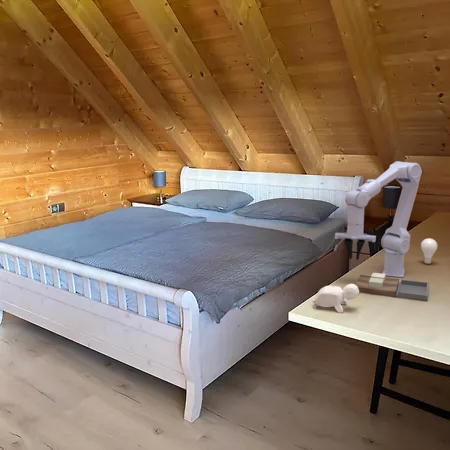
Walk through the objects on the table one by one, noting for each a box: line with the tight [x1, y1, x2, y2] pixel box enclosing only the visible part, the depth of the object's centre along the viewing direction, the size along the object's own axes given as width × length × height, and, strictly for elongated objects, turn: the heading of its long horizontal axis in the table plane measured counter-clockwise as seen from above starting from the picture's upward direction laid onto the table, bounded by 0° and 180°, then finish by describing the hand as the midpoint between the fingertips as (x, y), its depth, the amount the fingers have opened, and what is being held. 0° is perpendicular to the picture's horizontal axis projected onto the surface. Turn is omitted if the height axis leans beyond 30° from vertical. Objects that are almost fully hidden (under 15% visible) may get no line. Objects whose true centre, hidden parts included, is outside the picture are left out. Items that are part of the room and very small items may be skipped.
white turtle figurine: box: [312, 283, 360, 314], centre depth 157 cm, size 9×8×15 cm
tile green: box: [369, 278, 384, 288], centre depth 171 cm, size 4×4×2 cm
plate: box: [355, 274, 400, 298], centre depth 174 cm, size 14×14×2 cm
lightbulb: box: [420, 237, 438, 265], centre depth 199 cm, size 6×6×11 cm
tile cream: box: [370, 272, 386, 281], centre depth 176 cm, size 4×4×2 cm
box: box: [395, 279, 430, 302], centre depth 169 cm, size 14×10×2 cm
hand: (354, 258), depth 178 cm, fingers closed
